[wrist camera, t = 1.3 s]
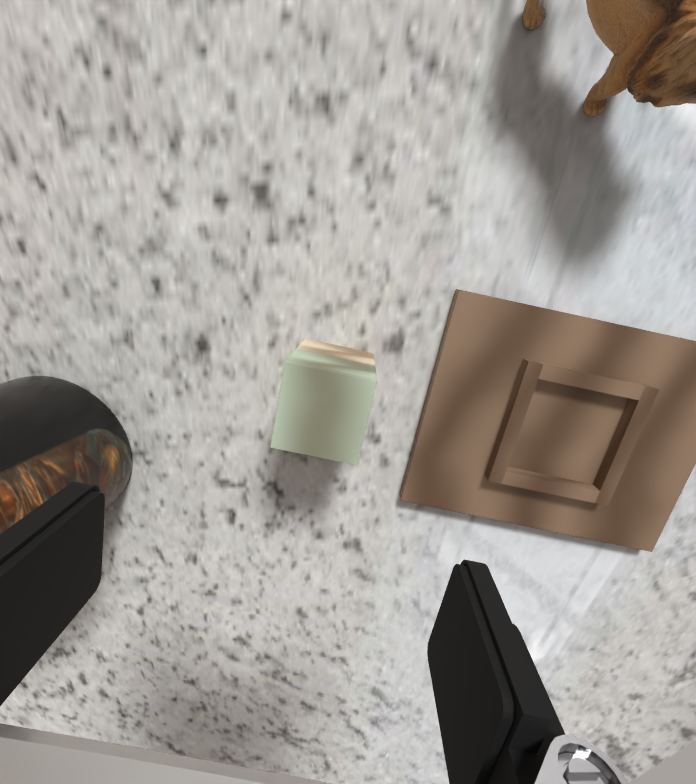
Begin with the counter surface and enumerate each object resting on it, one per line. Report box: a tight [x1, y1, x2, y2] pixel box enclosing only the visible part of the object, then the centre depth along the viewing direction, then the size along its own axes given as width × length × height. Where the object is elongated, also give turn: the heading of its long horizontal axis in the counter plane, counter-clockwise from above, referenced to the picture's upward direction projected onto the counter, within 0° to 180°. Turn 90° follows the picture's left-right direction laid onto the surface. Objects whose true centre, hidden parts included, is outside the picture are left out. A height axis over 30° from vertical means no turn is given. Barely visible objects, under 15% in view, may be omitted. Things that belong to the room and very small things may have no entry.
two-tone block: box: [270, 339, 377, 465], centre depth 27 cm, size 5×5×8 cm
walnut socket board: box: [400, 289, 696, 552], centre depth 30 cm, size 20×16×2 cm
